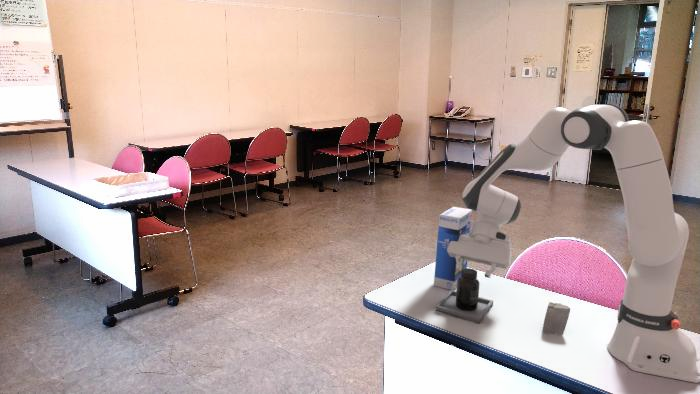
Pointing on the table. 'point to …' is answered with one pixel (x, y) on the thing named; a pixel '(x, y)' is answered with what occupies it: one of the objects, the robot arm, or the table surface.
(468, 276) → the supplement bottle
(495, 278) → the table surface
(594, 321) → the table surface
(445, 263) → the string lights box
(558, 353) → the table surface
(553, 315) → the mineral specimen
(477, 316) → the tray
